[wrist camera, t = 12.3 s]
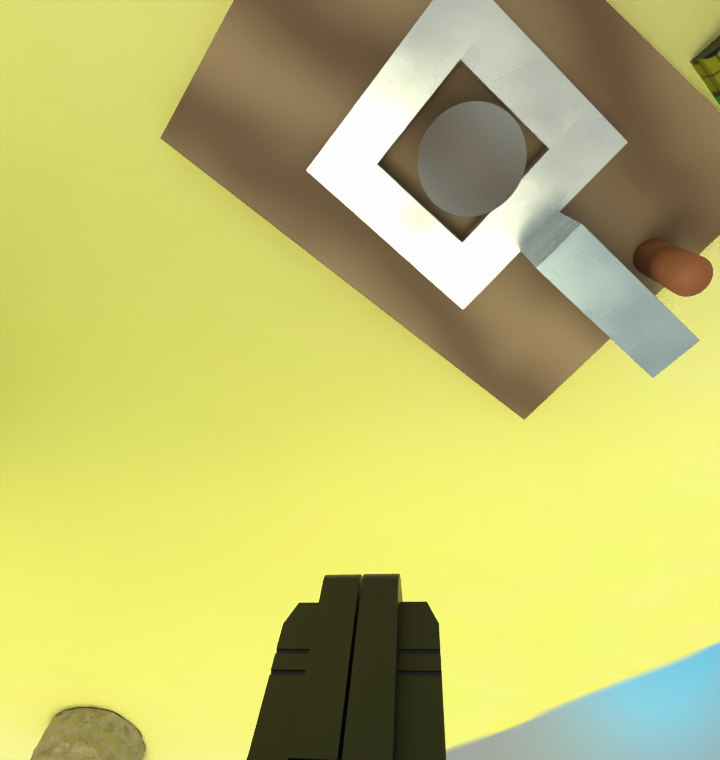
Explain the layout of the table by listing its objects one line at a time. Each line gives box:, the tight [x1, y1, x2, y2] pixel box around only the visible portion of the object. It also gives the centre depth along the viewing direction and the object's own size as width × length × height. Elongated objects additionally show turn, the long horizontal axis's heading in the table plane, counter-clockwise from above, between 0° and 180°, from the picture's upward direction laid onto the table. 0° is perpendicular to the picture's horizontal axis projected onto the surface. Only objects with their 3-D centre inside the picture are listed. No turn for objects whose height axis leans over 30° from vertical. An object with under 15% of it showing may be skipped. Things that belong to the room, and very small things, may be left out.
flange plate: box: [307, 0, 700, 378], centre depth 25 cm, size 18×10×6 cm, turn 50°
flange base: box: [161, 0, 720, 419], centre depth 24 cm, size 17×25×8 cm
